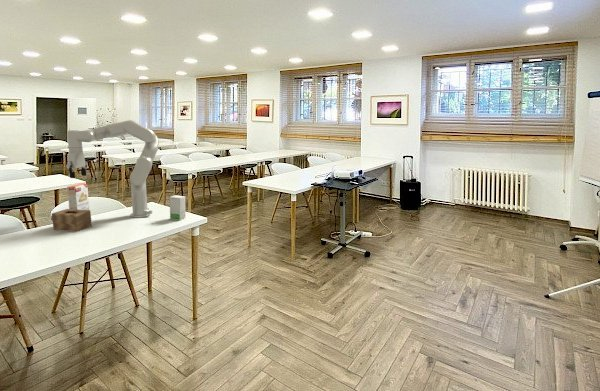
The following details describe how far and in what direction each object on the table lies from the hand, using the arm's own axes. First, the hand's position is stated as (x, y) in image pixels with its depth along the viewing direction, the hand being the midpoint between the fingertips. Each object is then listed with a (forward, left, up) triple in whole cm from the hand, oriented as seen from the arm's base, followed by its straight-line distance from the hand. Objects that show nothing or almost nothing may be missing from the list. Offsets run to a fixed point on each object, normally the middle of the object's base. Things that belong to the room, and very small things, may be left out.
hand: (78, 176), depth 240 cm
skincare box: (-59, -16, -28) cm, 67 cm away
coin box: (-8, +18, -28) cm, 34 cm away
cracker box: (+10, -10, -28) cm, 32 cm away
